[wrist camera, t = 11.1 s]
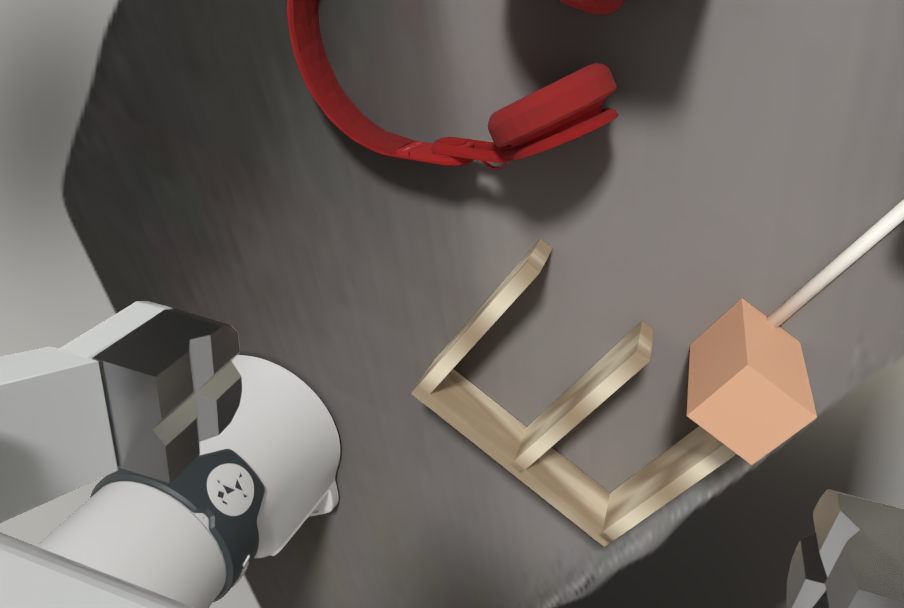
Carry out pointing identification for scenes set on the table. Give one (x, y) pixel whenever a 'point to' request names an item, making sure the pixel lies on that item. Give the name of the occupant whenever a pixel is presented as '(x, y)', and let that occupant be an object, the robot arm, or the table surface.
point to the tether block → (762, 365)
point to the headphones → (512, 128)
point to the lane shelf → (564, 424)
